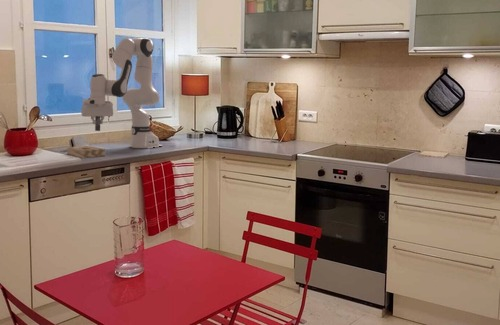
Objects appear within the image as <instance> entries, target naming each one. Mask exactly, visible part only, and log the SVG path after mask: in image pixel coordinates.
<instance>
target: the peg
mask: <svg viewBox="0 0 500 325" xmlns="http://www.w3.org/2000/svg"><path fill="white" fill-rule="evenodd" d="M94 120H95V121H96V124H94V131H96V132H101V124H100V120H101V116H95V118H94Z"/></svg>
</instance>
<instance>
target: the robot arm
mask: <svg viewBox="0 0 500 325" xmlns="http://www.w3.org/2000/svg"><path fill="white" fill-rule="evenodd" d="M154 47H155V46H154V43H153V40H151V39H150V38H147V37H143V38H142V37H135V38H132V39H131V38H127V37H125V38H123V39H122V40H120V42H119V43H118V44H117V46H116V47H115V50H114V52H113V53H112V62H113V63H114V64H115V65H116V66H117V67H119V69H121V72H120V75H119V78H118V79H116V80H115V79H113V80H111V79H108V78H106V77H105V74H102V73H97V74H96V73H94V74H92V75H91V77H90V86H89V88H90V95H89V96H90V97H88V98H85V99H82V106H81V112H80V113H81V116H82V117H84V118H85V117H90V119H91V120H92V124H93V125H95V124H96V121H95V116H100V125H103V122H104V119H105V117H113V116H114V106H113V103H112V101H110V100H106V96H107V97H108V96H109V97H116V98H117V97H118V98H122V100H123V103H125V105H127V106H128V108H129V110H130V112H131V138H130V139H131V140H130V143H129V144H130V145H129V148H133V149H154V148H153V147H155V148H160V147H159V146H162V147H163V144H160V139H159V137H158V136H157V135H156V134H155V133H154V132H152V131H154V129H155V128H154V126H150V115H149V114H148V112H147V111H145V110H144V109H143V106H148V107H151V106H156V105H157V104H158V103H159V102H160V93H159V92H158V91H157V90H156V89H155V87H154V85H153V82H152V78H153V66H154V65H153V64H154V62H153V55H152V54H153V51H154ZM133 56H134V57H135V56H136V61H135V62H136V63H135V68H134V69H135V71H134V80H135V82H137V83H138V84H140V88H132V87H131V88H128V83H129V79H130V77H131V73H132V70H133V69H132V68H133V63H132V61H131V60H132V57H133Z"/></svg>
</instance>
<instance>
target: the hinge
mask: <svg viewBox="0 0 500 325" xmlns="http://www.w3.org/2000/svg"><path fill="white" fill-rule="evenodd" d="M68 143H69V147H79V146H91V145H90V144H89V141H88V139H87V137H86V136H85V135H81V134H80V135H79V134H78V135H76V136H73V137H71V138H70V139H69V140H68Z"/></svg>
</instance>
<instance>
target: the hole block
mask: <svg viewBox="0 0 500 325" xmlns="http://www.w3.org/2000/svg"><path fill="white" fill-rule="evenodd" d="M105 150H106V149H105V148H101V147H95V146H79V147H70V146H67V152H66V153H67V155H71V156H74V157H78V158H83V159H86V158H97V157H104V156H105V155H106V154H105Z"/></svg>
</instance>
